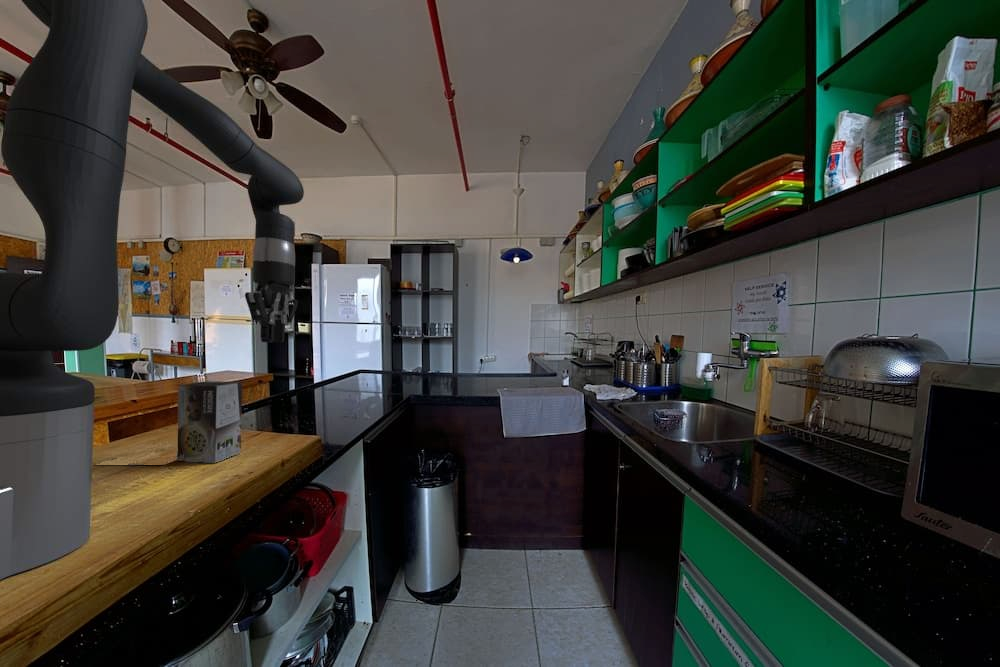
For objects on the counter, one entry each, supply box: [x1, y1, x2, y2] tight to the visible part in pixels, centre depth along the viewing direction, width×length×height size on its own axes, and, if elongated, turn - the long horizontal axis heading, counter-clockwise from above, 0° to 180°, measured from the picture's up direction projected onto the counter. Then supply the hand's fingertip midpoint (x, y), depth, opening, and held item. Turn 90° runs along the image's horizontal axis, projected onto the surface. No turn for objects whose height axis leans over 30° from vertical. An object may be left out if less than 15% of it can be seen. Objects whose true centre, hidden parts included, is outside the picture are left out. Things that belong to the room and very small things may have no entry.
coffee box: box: [176, 380, 243, 464], centre depth 71 cm, size 9×6×16 cm
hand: (272, 341), depth 71 cm, fingers open, 3 cm apart
